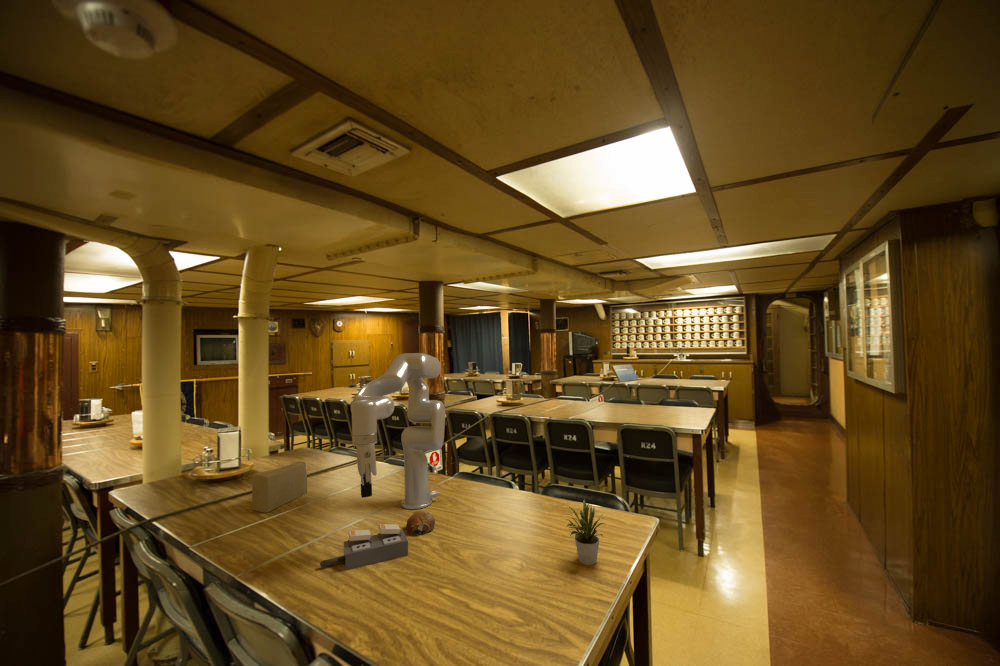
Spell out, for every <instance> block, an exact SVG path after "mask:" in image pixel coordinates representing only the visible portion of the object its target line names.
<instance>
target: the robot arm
mask: <svg viewBox="0 0 1000 666" xmlns="http://www.w3.org/2000/svg"><path fill="white" fill-rule="evenodd" d="M441 371H442V364H441V362H440V360H439V359H438V357H435V356H432V355H430V354H428V353H424V352H414V353H413V352H411V353H410V352H409V353H405V352H404V353H400V354H397V355H396V357H395V358H393V360H392V362H391V363H390V365H389V366H388V368H387V369H386V371H384V373H383V374H382V375H380V376H379V377H376V378H374V379H373V380H371V381H370V382H368V383H366V384H364V385H363V386H362V387H361V388H360V389H359V391H358V392H357V393H356V394H355V396H354V397H353V399H352V401H351V404H350V412H351V428H352V429H351V431H352V432H351V433H352V446H354V447H356V463H357V472H358V474H359V477H360V496H361V498H362V499H364V498H370V497H372V496H373V488H372V487H373V485H372V476H375V477H376V476H377V460H376V459H377V458H376V447H375V444H377V443H378V426H377V425H378V424H377V421H378V420H382V419H383V420H384V419H387V418H389V417H391V415H392V414H394V411H395V402H394V400H393V399H392V398H391V397H389V396H387V395H391V394H394V393H396V392H399V391H401V390H402V389H403V388H404V386H405V385H406V384H407V387H408V399H407V411H406V412H407V415H406V416H407V419H408V421H409V422H411V423H415V424H431V426H424V425H414V426H413V425H412V426H407V427H406V428H404V429H403V431H402V432H401V437H400V438H401V445H402V449H403V461H404V463H403V465H404V466H403V467H404V468H403V469H404V470H403V471H404V476H403V477H404V499H402V500H401V501H400V506H401V507H402V508H404V509H406V510H419V509H423V508H427V507H429V506H430V505H432V503H433V498H436V497H441V494H440V491H439V490H438V491H436V490H432V491H430V490H429V467H428V465H429V464H428V462H429V461H428V457H427V455H426V452H424V451H439V450H441V449H442V447H443V446H444V440H445V428H446V427H445V425H446V408H445V405H444V403H443V402H442V401H441V400H436V399H430V389H429V388H430V387H429V385H428V384H427V382H426V380H425V379H435V378H438V377H439V375H440V374H441Z"/></svg>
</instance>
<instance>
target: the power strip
mask: <svg viewBox="0 0 1000 666" xmlns="http://www.w3.org/2000/svg"><path fill="white" fill-rule="evenodd" d="M407 556H409V540H408V539H407V536H406V534H405V533H404V530H403V529H402V528H400V534H380V532H379V533H377V534H374V535H372V534H371V537H370V540H356V541H350V540H349V539H347V540H345V541H343V556H339V557H334V558H328V559H325V560H322V561H320V562H319V566H320V567H321V568H323V567H328V566H332V565H338V564H340V563H344V568H345V571H348V570H352V569H356V568H360V567H365V566H369V565H374V564H378V563H382V562H386V561H389V560H390V561H391V560H393V559H398V558H403V557H407Z"/></svg>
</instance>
